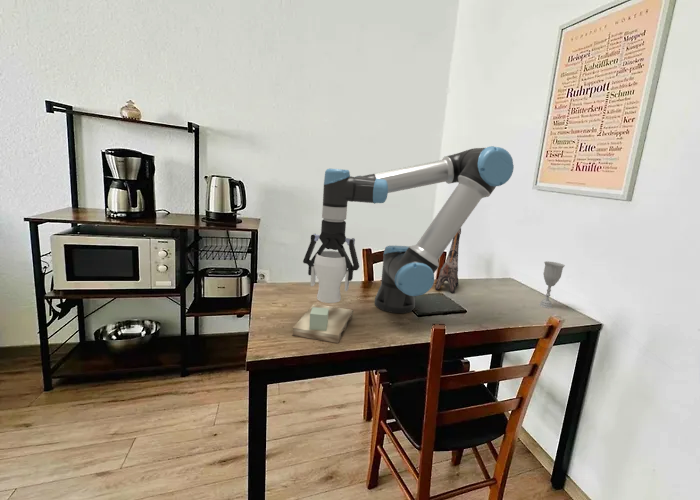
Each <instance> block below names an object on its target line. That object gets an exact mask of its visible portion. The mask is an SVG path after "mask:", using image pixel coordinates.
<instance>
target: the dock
mask: <svg viewBox="0 0 700 500" xmlns="http://www.w3.org/2000/svg"><path fill="white" fill-rule="evenodd" d="M312 307H316V308H328V309H329V315H328V326H327V330H326V331H321V330H309V326H310V313H311V310H312ZM353 312H354V310H353V309H349V308H344V307H343V308H342V307H336V306H331V305H324V304H317V303H313V304H312V305H311V307H310V308H309V309H308V310H307V311H306V312H305V313H304V314H303V315H302V316H301V317H300V318H299V320H298V321H297V322H296V323H295V324H294V325H293V326H292V336H295V337H301V338H307V339H313V340H318V341H325V342H330V343H335V344H339V342H340V340H341V339H342V336H341V335H342V333H343V332H345V331H346V329H347V327H348V322H349V321H352V318H353Z"/></svg>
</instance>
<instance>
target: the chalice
mask: <svg viewBox="0 0 700 500" xmlns="http://www.w3.org/2000/svg"><path fill="white" fill-rule="evenodd" d="M543 263H544V269H543V272H542V273H543V279H544V282H545V285H547V286H548V287H547V289H546V293H545V299H544V298H543V299H542V300H541V301H540V302H539V304H538V306H539V307H541V308H545V309H553V308H554V307H553V304H552V301H551V300H550V296H551V292H552V290H551V289H552V287H555V286H556V284H557V283H558V282H559V280H560V279H561V278H562V274H563V269H564V268H565V266H566V265H565V264H563V263H560V262H557V261H556V262H554V261H548V260H547V261H544V262H543Z"/></svg>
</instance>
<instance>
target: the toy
mask: <svg viewBox="0 0 700 500" xmlns="http://www.w3.org/2000/svg"><path fill="white" fill-rule="evenodd" d="M461 233H462V227H461V228H460V229H459V231H458V232H457V234H456V235H455V236H454V238H453V239H452V241H451V244H450V248H449V252H448V255H447V257H446V260H445V262H444V263H443V265H442V267H441V268H440V270H439V276H438V278H437V280H436V282H435V286H434V288H435V289H434V290H436V291H438V290H439V289H440V288H441V287H442V285H443V284H444V283H445V282H447V283H448V284H449V285H448V286H449V290H450V292H451V293H452V294H454V293H455V291H456V288H457V287H458V286H459V276H458V275H459V274H458V272H459V248H460V246H459V245H460V237H461Z"/></svg>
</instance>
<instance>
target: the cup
mask: <svg viewBox="0 0 700 500" xmlns="http://www.w3.org/2000/svg"><path fill="white" fill-rule="evenodd" d="M315 254H316V253H315ZM314 269H315V273H316V279H317V280H318V290H317V295H316V299H317V300H318V301H319V302H322V303H326V304H336V303H338V302H340V301H341V299H342V298H341V286H342V282H343V280H344V279H345V277H346V271H347V270H348V268H347V266H346V261H345V257H341V255H340V253H339V252H338V250H324V251H323V252H322V253H321V255H318V254H316V257H315V261H314Z"/></svg>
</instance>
